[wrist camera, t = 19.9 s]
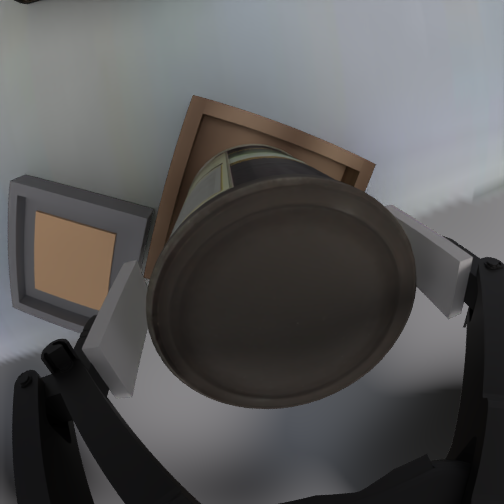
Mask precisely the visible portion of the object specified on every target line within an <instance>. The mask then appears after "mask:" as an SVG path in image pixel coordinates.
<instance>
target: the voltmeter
mask: <svg viewBox="0 0 504 504" xmlns="http://www.w3.org/2000/svg"><path fill="white" fill-rule="evenodd" d="M15 1H17V2H19V3H23V4H27V3H31V2H35V1H38V0H15Z"/></svg>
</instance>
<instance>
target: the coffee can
mask: <svg viewBox="0 0 504 504" xmlns="http://www.w3.org/2000/svg"><path fill="white" fill-rule="evenodd" d="M416 280H417V276H416V265H415V257H414V254H413V251H412V247H411V243H410V241H409V239H408V237H407V235H406V233H405V231H404V229H403V228H402V226H401V225H400V223H399V222H398V220H397V219H396V218H395V217H394V215H393V214H392V213H391V212H390V211H389V210H388V209H387V208H386V207H384V206H383V205H382V204H381V203H380V202H379V201H377V200H376V199H375V198H373V197H372V196H370V195H368V194H367V193H365V192H364V191H362V190H360V189H358V188H355V187H353V186H351V185H348V184H346V183H343V182H340V181H338V180H335V179H333V178H331V177H330V176H328V175H326V174H324V173H322V172H320V171H318V170H317V169H315V168H313V167H311V166H309V165H307V164H305V163H304V162H302V161H300V160H298V159H296V158H294V157H293V156H291V155H290V154H288V153H286V152H285V151H283V150H281V149H278V148H276V147H272V146H268V145H263V144H244V145H239V146H235V147H231V148H229V149H226V150H224V151H222V152H220V153H218V154H217V155H215V156H214V157H212V158H211V159H210V160H209V161H208V162H206V163H205V164H204V166H203V167H202V168H201V169H200V170H199V172H198V173H197V174H196V176H195V178H194V179H193V181H192V184H191V186H190V188H189V191H188V195H187V198H186V200H185V202H184V204H183V207H182V209H181V212H180V214H179V217H178V219H177V221H176V224H175V226H174V228H173V231H172V233H171V236H170V238H169V240H168V241H167V243H166V244H165V246H164V248H163V250H162V251H161V253H160V255H159V257H158V259H157V261H156V263H155V265H154V268H153V271H152V274H151V277H150V280H149V285H148V290H147V295H146V318H147V325H148V329H149V333H150V336H151V339H152V342H153V344H154V346H155V348H156V351H157V353H158V354H159V356H160V357H161V359H162V361H163V362H164V364H165V365H166V366H167V367H168V368H169V370H170V371H171V372H172V373H173V374H174V375H175V376H176V377H177V378H179V380H181V381H182V382H183V383H184V384H186V385H187V386H189V387H190V388H191V389H193V390H195V391H196V392H198V393H200V394H202V395H204V396H206V397H208V398H211V399H213V400H216V401H218V402H222V403H225V404H229V405H233V406H239V407H244V408H256V409H277V408H287V407H294V406H298V405H303V404H307V403H311V402H314V401H317V400H320V399H322V398H325V397H327V396H330V395H332V394H334V393H336V392H338V391H340V390H342V389H344V388H346V387H347V386H349V385H351V384H352V383H354V382H355V381H357V380H358V379H360V378H361V377H363V376H364V375H365V374H366V373H368V372H369V371H370V370H371V369H372V368H374V366H376V365H377V364H378V363H379V361H381V360H382V359H383V357H384V356H385V355H386V354H387V353H388V351H389V350H390V349H391V348H392V346H393V345H394V343H395V342H396V340H397V339H398V337H399V336H400V334H401V332H402V330H403V329H404V327H405V325H406V323H407V320H408V318H409V316H410V313H411V310H412V307H413V303H414V299H415V292H416Z"/></svg>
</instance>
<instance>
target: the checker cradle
mask: <svg viewBox="0 0 504 504" xmlns="http://www.w3.org/2000/svg"><path fill="white" fill-rule="evenodd" d="M153 212H154V209H152V208H149V207H145V206H141V205H138V204H134V203H130V202H127V201H123V200H119V199H116V198H112V197H108V196H105V195H101V194H97V193H93V192H90V191H86V190H82V189H78V188H75V187H71V186H67V185H63V184H59V183H56V182H52V181H48V180H44V179H40V178H36V177H32V176H29V175H23V176H21V177H18V178H16V179H14V180H11V181H10V187H9V202H8V259H9V275H10V287H11V296H12V304H13V307H14V308H16V309H18V310H21V311H23V312H25V313H28V314H30V315H33V316H35V317H38V318H40V319H43V320H45V321H48V322H51V323H53V324H56V325H59V326H61V327H64V328H67V329H70V330H73V331H75V332H78V333H82V332H83V329H84V326H85V324H86V323H87V322H88V320H89V319H90V318H91V317H92V316H93V315H98V312H99V310H100V308H101V306H102V304H103V302H104V300H105V298H106V296H107V294H108V292H109V290H110V288H111V286H112V285H113V283H114V281H115V279H116V277H117V275H118V273H119V271H120V269H121V268H122V266H123V264H124V263H126V262H130V261H135V260H137V262H138V264H139V267H140V270H141V267H142V262H143V257H144V252H145V247H146V242H147V238H148V233H149V229H150V224H151V220H152V216H153Z"/></svg>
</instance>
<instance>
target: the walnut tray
mask: <svg viewBox="0 0 504 504" xmlns="http://www.w3.org/2000/svg"><path fill="white" fill-rule="evenodd" d="M244 144H263V145H268V146H272V147H276V148H278V149H281V150H283V151H285V152H286V153H288V154H290V155H291V156H293V157H294V158H296V159H298V160H300V161H302V162H304V163H305V164H307V165H309V166H311V167H313V168H315V169H317V170H318V171H320V172H322V173H324V174H326V175H328V176H330V177H331V178H333V179H335V180H338V181H340V182H343V183H346V184H348V185H351V186H353V187H355V188H358V189H360V190H362V191H364V192H365V190H366V187H367V185H368V183H369V180H370V178H371V175H372V173H373V170H374V168H375V165H376V164H374V163H372V162H370V161H368V160H366V159H364V158H362V157H360V156H358V155H355V154H353V153H351V152H349V151H347V150H345V149H342V148H340V147H338V146H336V145H333V144H331V143H329V142H327V141H324V140H322V139H320V138H317V137H315V136H312V135H310V134H307V133H305V132H302V131H300V130H297V129H295V128H292V127H290V126H287V125H284V124H282V123H279V122H276V121H274V120H271V119H268V118H265V117H263V116H260V115H257V114H254V113H251V112H248V111H245V110H242V109H239V108H236V107H232V106H229V105H226V104H223V103H219V102H216V101H213V100H209V99H206V98H202V97H198V96H195V95H193V96H192V99H191V102H190V105H189V108H188V111H187V114H186V117H185V120H184V123H183V126H182V129H181V132H180V135H179V138H178V141H177V145H176V148H175V151H174V155H173V158H172V161H171V165H170V168H169V172H168V175H167V179H166V183H165V186H164V190H163V194H162V198H161V202H160V205H159V209H158V213H157V218H156V222H155V226H154V230H153V235H152V239H151V244H150V248H149V253H148V258H147V262H146V267H145V272H144V278H147V279H150V277H151V274H152V271H153V268H154V265H155V263H156V261H157V259H158V257H159V255H160V253H161V251H162V250H163V248H164V246H165V244H166V243H167V241H168V240H169V238H170V236H171V233H172V231H173V228H174V226H175V224H176V221H177V219H178V217H179V214H180V212H181V209H182V207H183V204H184V202H185V200H186V198H187V195H188V191H189V188H190V186H191V184H192V181H193V179H194V178H195V176H196V174H197V173H198V172H199V170H200V169H201V168H202V167H203V166H204V164H205V163H206V162H208V161H209V160H210V159H211V158H212V157H214V156H215V155H217V154H218V153H220V152H222V151H224V150H226V149H229V148H231V147H235V146H239V145H244Z"/></svg>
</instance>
